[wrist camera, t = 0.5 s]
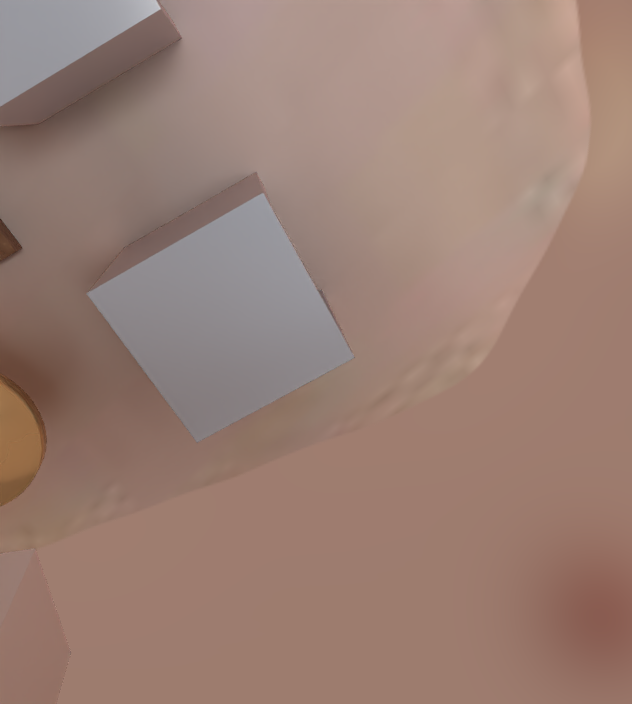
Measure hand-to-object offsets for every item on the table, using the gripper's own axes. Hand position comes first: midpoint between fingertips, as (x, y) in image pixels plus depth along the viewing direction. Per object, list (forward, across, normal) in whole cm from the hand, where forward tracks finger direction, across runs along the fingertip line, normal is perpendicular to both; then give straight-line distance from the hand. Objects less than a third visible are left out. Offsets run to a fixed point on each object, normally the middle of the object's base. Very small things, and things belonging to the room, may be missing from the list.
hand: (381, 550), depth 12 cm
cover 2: (+25, -3, -1) cm, 25 cm away
